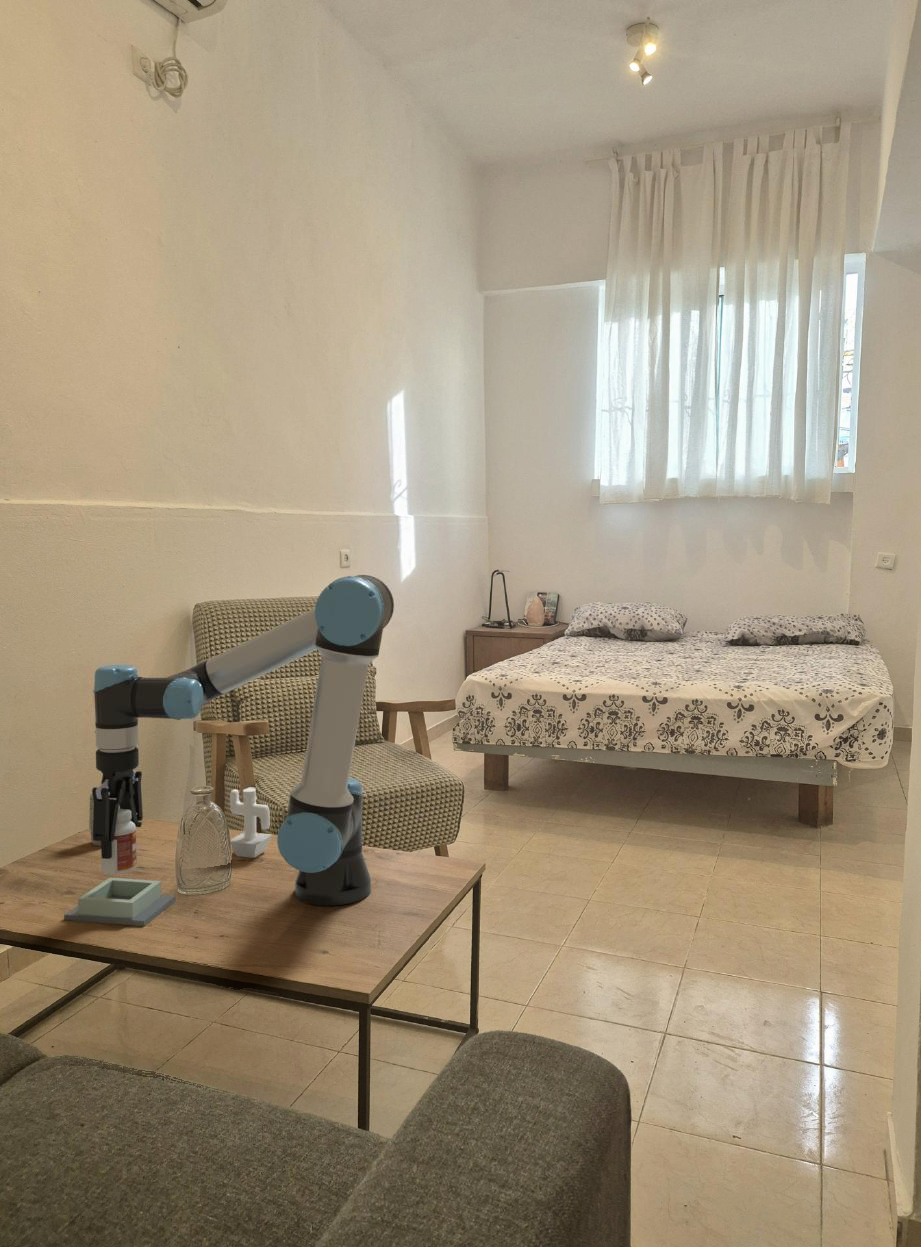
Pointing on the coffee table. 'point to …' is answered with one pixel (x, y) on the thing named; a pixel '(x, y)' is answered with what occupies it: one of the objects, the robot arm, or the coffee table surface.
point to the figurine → (250, 824)
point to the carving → (92, 820)
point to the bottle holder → (121, 902)
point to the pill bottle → (125, 842)
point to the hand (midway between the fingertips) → (119, 867)
